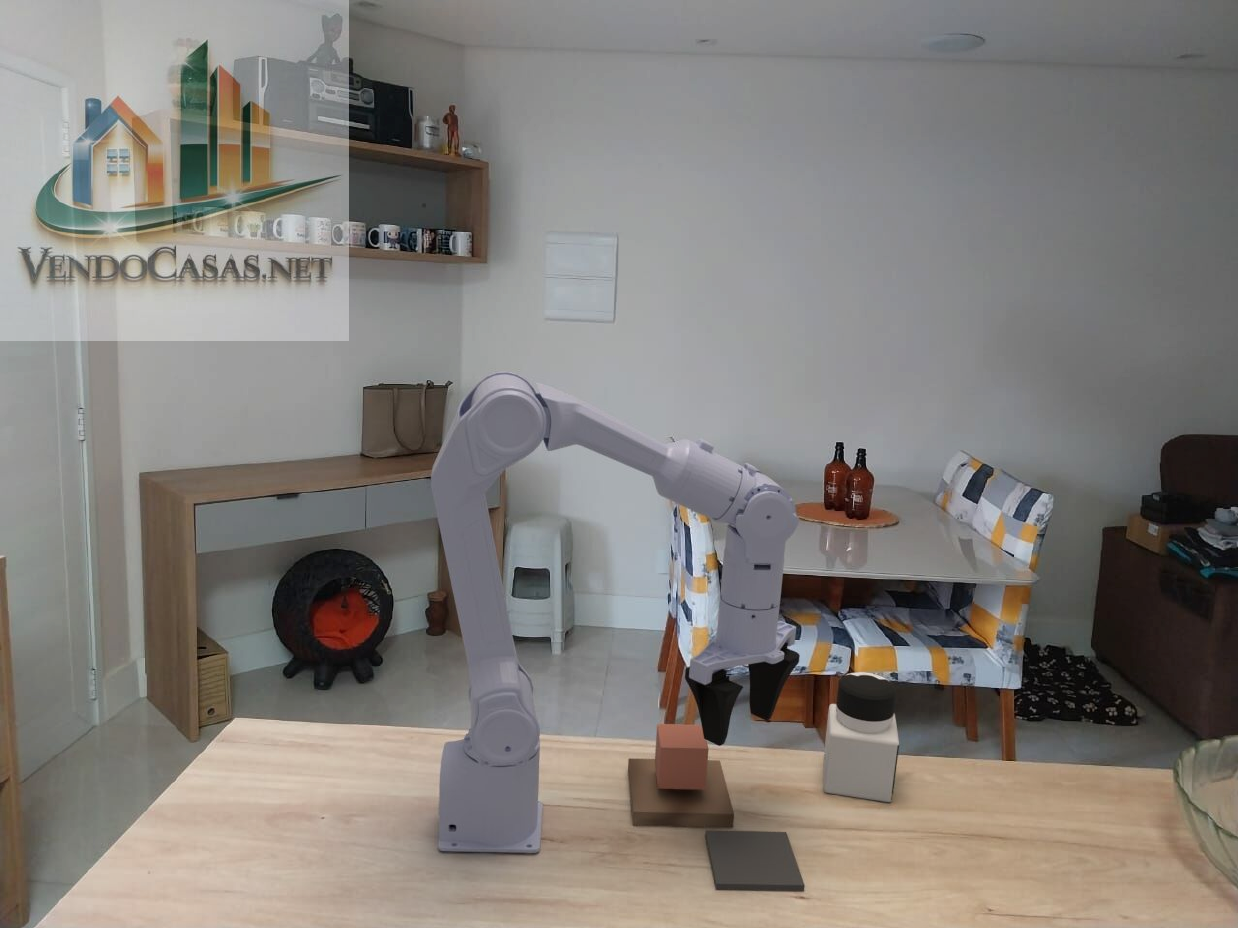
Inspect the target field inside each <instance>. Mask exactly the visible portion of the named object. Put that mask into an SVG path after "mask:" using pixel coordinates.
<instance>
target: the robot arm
mask: <svg viewBox="0 0 1238 928" xmlns="http://www.w3.org/2000/svg"><path fill="white" fill-rule="evenodd" d="M534 384H535V387H536V388H537V391H538V392H539V393H537V392H536V390H535V388H534V386H533V385H532V384H531V383H530V381H528V379H526V378H524V377H523V376H521V375H519V374H518V373H515V372H511V371H498V372H497V371H496V372H494V373H493V372H492V373H491V374H488V375H486V376H484V377H483V378H482V379H481V380H480V381H478V383H477V384H476V385H474V387H473V388H472V389H471V390H470V391H469V392H468V393H467V394H466V395H465V396H464V397H463V398H462V399H461V400H460V402H459V404H458V407H457V410H456V412H455V415H454V417H453V420H452V423H451V425H450V427H449V428H448V432H447V434H446V436H445V438H444V441H443V443H442V445H441V447H440V450H439V452H438V454H437V457H436V458H435V460H434V463H433V465H432V469H431V475H430V488H431V492H432V498H433V503H434V508H435V512H436V517H437V522H438V527H439V532H440V535H441V536H440V537H441V541H442V546H443V550H444V555H445V560H446V565H447V569H448V570H447V571H448V573H449V579H450V584H451V589H452V593H453V598H454V599H453V600H454V604H455V608H456V613H457V617H458V622H459V627H460V630H461V631H460V632H461V637H462V643H463V646H464V651H465V657H466V660H467V661H466V662H467V667H468V674H469V682H470V683H469V686H468V698H469V703H470V704H469V706H470V707H469V708H470V709H469V710H470V728H469V729H468V731H467V733H466V734H465V735H464V738H463V739H462V738H461V739H459V740H453V741H452V740H451V741H446V742H445V743H444V745H443V749H442V752H441V753H442V754H441V761H440V770H439V771H440V772H439V788H438V789H439V791H438V795H439V796H438V798H439V799H438V801H439V802H438V811H437V813H438V844H437V849H438V850H439V851H441V852H469V853H470V852H472V853H473V852H475V853H476V852H477V853H479V852H480V853H521V854H522V853H526V854H527V853H528V854H529V853H530V854H531V853H532V854H533V853H534V854H535V853H538V852H539V851H540V850H541V836H542V825H543V824H542V821H543V810H544V809H543V804H544V803H543V802H542V801H540V800H539V787H540V786H539V785H540V783H539V781H540V756H541V755H540V754H541V752H540V751H541V740H540V739H541V738H540V736H541V728H540V723H539V719H538V718H537V715H536V709H535V702H534V696H533V694H534V686H533V681H532V679H531V676H530V675H529V673H528V672H527V670H525V668H524V667H523V666H522V664H521V662H520V660H519V659H518V656H517V649H516V645H515V641H514V637H513V633H512V625H511V622H510V621H511V620H510V615H509V611H508V605H507V599H506V596H505V590H504V586H503V585H504V584H503V581H502V576H501V575H502V574H501V570H500V564H499V559H498V554H497V549H496V544H495V538H494V533H493V527H492V522H491V518H490V512H489V507H488V503H487V502H488V501H487V498H486V493H487V492H488V491H489V489H490V488H491V487H492V486H493V485H494V483H495V482H496V481H497V479H498V478H499V477H500V476H501V475H502V473H504V471H505V470H506V469H508V468H510V467H511V466H513V465H515V464H516V463H517V464H518V462H520V461H522V460H523V459H525V458H527V457H528V456H529V455H530V454H532V453H533V452H535V450H536V449H538V447H539V446H540V445H541V444H542V443H544V446H545V448H546V451H548V452H552V451H556V450H559V449H563V448H567V447H571V446H575V445H578V446H581V447H583V448H585V449H587V450H591V451H593V452H595V453H597V454H599V455H602V456H604V457H606V458H609V459H612V460H613V461H616V462H618V463H621V464H623V465H626V466H627V467H630V468H632V469H634V470H637V471H639V472H642V473H644V474H647V475H649V476H650V477H652V478H653V482H654V483H653V484H654V485H655V489H656V492H657V494H658V495H659V496H661V497H663V498H665V499H667V500H669V501H672V502H674V503H676V504H677V505H679V506H681V507H684V508H686V509H688V510H690V511H693V512H695V513H697V514H699V515H702V516H703V517H705V518H708V519H709V520H712V521H713V522H716V523H719V524H722V523H723V524H727V525H726V531H725V532H726V535H725V542H724V543H725V544H724V545H725V546H724V549H723V557H722V558H723V561H722V569H721V570H722V571H721V581H720V583H721V584H720V594H719V595H720V596H719V605H718V618H717V627H716V628H717V631H716V635H715V636H714V637H713V638H712V639H711V641H709V643H708V644H706V646H705V647H704V648H703V649H702V651H701V652H699V653H698V654H697V655H696V656H694V657H692V658H690V659H689V660H690V661H689V666H687V667H686V668H685V671H684V672H685V673H684V680H685V681H686V683H687V685H688V686H689V689H690V690H691V692H692V695H693V697H694V700H695V702H696V706H697V709H698V714H699V718H700V725H702V730H703V735H704V739H706V740H707V742H710V743H711V744H714V745H716V746H718V747H720V746H723V745H725V742H726V740H727V738H728V733H729V729H730V728H729V727H730V722H731V717H732V712H733V709H734V706H735V704H736V702H737V698H738V697H739V695H740V693H741V691H742V690H743V689H744V686H743V685H741V684H738V683H737V682H734V681H731V680H730V676H729V675H727V674H728V673H727V671H728V670H731V669H732V668H736V667H741V666H746V665H747V666H748V673H749V675H748V676H749V709H750V710H749V711H750V714H751V715H753V716H755V717H758V718H760V719H762V720H764V721H769V720H772V719H771V718H772V716H773V714H774V712H775V709H776V707H777V703H778V701H779V698H780V695H781V693H782V690H783V688H784V686H785V684H786V682H787V680H788V679H789V677H790V675H791V674H792V672H793V671H794V669H795V668H796V667H797V666H798V664H799V663H800V653H798V652H797V651H795V650H793V649H790V648H788V647H791V646H794V645H796V643H795V642H796V633H797V626H795V625H793V624H789V623H787V622H784V621H782V620H779V613H780V607H781V605H780V604H781V597H782V596H781V595H782V585H783V575H784V566H785V549H786V543H787V541H788V540H789V539H790V538H791V537H792V536H793V534H794V533H795V531H796V529H797V527H798V525H799V521H800V515H797V513H796V512H797V511H796V510H797V509H796V505H795V501H794V499H793V498H792V497H791V495H790V493H789V492H788V491H787V490H785V489H784V488H783V487H781V486H780V485H779V484H778V483H777V482H775V481H774V480H773V479H772V478H770V477H769V476H767V475H765V474H763V472H762V471H761V470H760V469H758V468H757V467H755V466H754V465H753V464H750V463H748V462H745V463H744V464H743V465H741V464H739V463H737V462H734V461H733V460H730V459H728V458H727V457H724V456H723V455H721V454H718V453H716V452H714V451H713V450H714V449H715V446H714V445H713V444H712V443H710V442H709V441H707V440H705V439H703V438H700V437H699V438H698V439H697V440H696V442H694V441H692V440H690V439H688V438H683V439H679V440H677V441H674V442H669V443H664V442H662V441H660V440H658V439H656V438H655V437H652V436H651V435H648V434H646V433H645V432H643V431H641V430H639V429H637V428H635V427H633V426H631V425H630V424H628V423H626V422H624V421H622V420H620V419H619V418H617V417H614V416H613V415H611V414H608V413H607V412H605V411H603V410H601V409H599V408H598V407H596V406H594V405H592V404H590V403H588V402H587V401H585V400H582V399H581V398H579V397H577V396H575V395H572V394H569V393H567V392H565V391H562V390H559V389H558V388H555V387H554V386H553V387H552V386H550V385H548V384H544V383H541V382H537V381H534Z"/></svg>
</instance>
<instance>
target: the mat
mask: <svg viewBox="0 0 1238 928" xmlns="http://www.w3.org/2000/svg"><path fill="white" fill-rule="evenodd" d="M704 839H705V844H706V849H707V852H708V858H709V863H710V867H711V872H712V877H713V883H714V886H715V887H714V888H715V890H717V891H718V890H721V891H723V890H724V891H725V890H727V891H729V890H730V891H731V890H732V891H733V890H734V891H776V892H777V891H779V892H780V891H785V892H787V891H788V892H804V891H805V883H804V880H803V877H802V873H801V871H800V868H799V864H798V861H797V859H796V857H795V854H794V850H793V848H792V845H791V842H790V839H789V836H788V833H787V831H766V830H765V831H763V830H761V831H755V830H753V831H752V830H751V831H750V830H717V829H716V830H710V829H709V830H708V829H707V830H705V831H704Z"/></svg>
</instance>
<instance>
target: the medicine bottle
mask: <svg viewBox="0 0 1238 928" xmlns="http://www.w3.org/2000/svg"><path fill="white" fill-rule="evenodd" d="M897 692H898V691H897V688H896V687H895V685H894V683H893V682H892V681H890V680H889V679H887V678H885V677H884V676H881V675H879V674H876V673H873V672H867V671H865V672H864V671H860V672H859V671H858V672H857V671H856V672H851V673H847V674H844V675H843V676H842V677H841V678H840V679H839V681H838V685H837V694H836V703H831V704H829V707H828V713H827V714H828V715H827V722H826V723H827V724H826V732H825V741H824V752H823V791H824V793H826V794H832V795H839V796H844V797H851V798H857V799H865V800H871V801H876V802H877V801H878V802H884V803H890V802H892V801H893V797H894V789H895V788H894V787H895V781H896V780H895V779H896V775H897V774H896V773H897V765H898V757H899V751H900V740H899V739H900V738H899V733H898V732H899V731H898V728H897V727H898V726H897V721H896V720H897V719H896V714H895V708H896V700H897ZM824 753H825V754H824Z"/></svg>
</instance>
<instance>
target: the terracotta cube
mask: <svg viewBox="0 0 1238 928" xmlns="http://www.w3.org/2000/svg"><path fill="white" fill-rule="evenodd" d="M655 736H656V737H655V753H654V759H655V769H656V776H657V783H658V789H701V790H705V788H706V775H707V762H708V760H709V759H708V757H709V746H708V740H706V739H704V735H703V730H702V724H685V723H684V724H682V723H681V724H680V723H678V724H677V723H675V724H674V723H657V724H656V735H655Z"/></svg>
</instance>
